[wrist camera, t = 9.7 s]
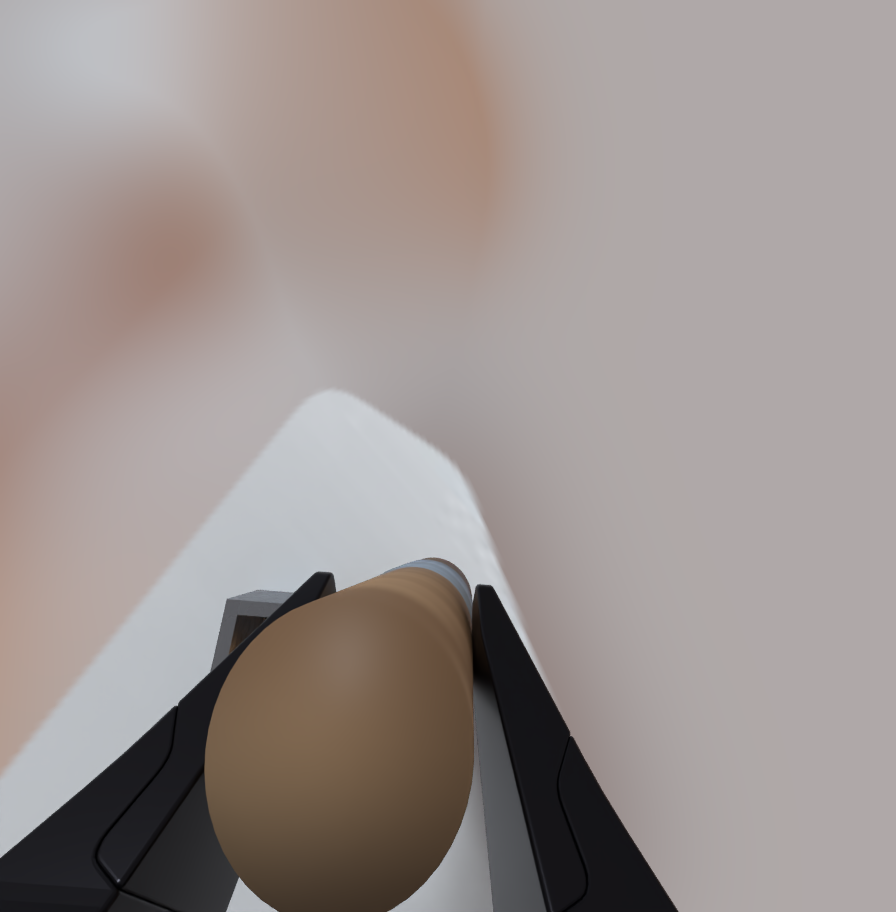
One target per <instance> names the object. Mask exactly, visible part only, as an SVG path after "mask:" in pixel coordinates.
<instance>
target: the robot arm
mask: <svg viewBox="0 0 896 912" xmlns="http://www.w3.org/2000/svg"><path fill="white" fill-rule="evenodd" d="M333 593H336V587H335V580H334V575H333V574H332V573H331V572H316V573H315V574H313V575H312V576H311V577H310V578H309V579H308V580H307V581H306V582H305V583H304V584H303V585H302V586H301V587H300V588H299V589H298V590H297V591H295V592H294V593H293V594H292V595H291V596H290V597H289V598H288V599H287V600H286V601H285V602H284V603H283V604H282V605H281V606H280V607H279V608H278V609H276V610H275V611H274V612H273V613H272V614H271V615H270V616H269V617H268V618H267V619H266V620H265V621H264V622H263V623H262V624H261V625H260V626H259V627H258V628H256V629H255V630H254V631H253V632H252V633H251V634H250V635H249V636H248V637H247V638H246V639H245V640H244V641H243V642H242V643H241V644H240V645H239V646H237V647H236V648H235V649H234V650H233V651H232V652H231V653H230V654H229V655H228V656H227V657H226V658H225V659H224V660H223V661H222V662H221V663H220V664H219V665H217V666H216V667H215V668H214V669H213V670H212V671H211V672H210V673H209V674H208V675H207V676H206V677H205V678H204V679H203V680H202V681H201V682H200V683H198V684H197V685H196V686H195V687H194V688H193V689H192V690H191V691H190V692H189V693H188V694H187V695H186V696H185V697H184V698H183V699H182V700H181V701H180V702H179V703H178V706H174V707H173V708H172V709H171V710H170V711H169V712H168V713H167V714H166V715H165V716H164V717H162V718H161V719H160V720H159V721H158V722H157V723H156V724H155V725H154V726H153V727H152V728H151V729H150V730H149V731H147V732H146V733H145V734H144V735H143V736H142V737H141V738H140V739H139V740H138V741H137V742H135V743H134V744H133V745H132V746H131V747H130V748H129V749H128V750H127V751H126V752H125V753H124V754H122V755H121V756H120V757H119V758H118V759H117V760H116V761H114V762H113V763H112V764H111V765H110V766H109V767H107V768H106V769H105V770H104V771H103V772H102V773H100V774H99V775H98V776H97V777H96V778H95V779H94V780H92V781H91V782H90V783H89V784H88V785H87V786H85V787H84V788H83V789H82V790H81V791H80V792H78V793H77V794H76V795H75V796H74V797H72V798H71V799H70V800H69V801H68V802H66V803H65V804H64V805H63V806H62V807H61V808H59V809H58V810H57V811H56V812H55V813H53V814H52V815H51V816H50V817H49V818H47V819H46V820H45V821H44V822H43V823H41V824H40V825H39V826H38V827H37V828H36V829H34V830H33V831H32V832H31V833H30V834H28V835H27V836H26V837H25V838H24V839H22V840H21V841H20V842H19V843H18V844H16V845H15V846H14V847H13V848H12V849H11V850H9V851H8V852H7V853H6V854H5V855H3V856H2V857H1V858H0V912H226V910H227V908H228V905H229V902H230V900H231V897H232V894H233V892H234V889H235V886H236V884H237V881H238V878H239V876H238V875H237V873H236V872H235V871H234V869H233V868H232V866H231V864H230V863H229V861H228V859H227V857H226V856H225V854H224V852H223V850H222V848H221V845H220V843H219V841H218V838H217V836H216V834H215V831H214V827H213V824H212V820H211V817H210V813H209V808H208V802H207V796H206V789H205V771H204V769H205V749H206V742H207V736H208V729H209V725H210V721H211V717H212V714H213V710H214V707H215V704H216V701H217V699H218V696H219V693H220V691H221V688H222V686H223V684H224V682H225V680H226V678H227V676H228V674H229V672H230V671H231V669H232V668H233V666H234V665H235V663H236V661H237V660H238V658H239V657H240V655H241V654H242V653H243V652H244V650H245V649H246V648H247V647H248V645H249V644H250V643H251V642H252V641H253V640H254V639H255V638H256V637H257V636H258V635H259V634H260V633H261V632H262V631H263V630H264V629H265V628H266V627H268V626H269V625H270V624H272V623H273V622H274V621H275V620H277V619H278V618H280V617H281V616H283V615H285V614H286V613H288V612H290V611H292V610H293V609H296V608H298V607H300V606H303V605H305V604H307V603H310V602H312V601H315V600H318V599H320V598H323V597H325V596H328V595H331V594H333ZM472 649H473V699H474V709H475V720H476V731H477V741H478V752H479V762H480V773H481V784H482V794H483V805H484V816H485V826H486V837H487V847H488V858H489V869H490V879H491V890H492V901H493V911H494V912H678V910H677V909H676V907H675V905H674V904H673V902H672V901H671V899H670V898H669V896H668V895H667V893H666V891H665V890H664V888H663V887H662V885H661V884H660V882H659V880H658V879H657V877H656V876H655V874H654V872H653V871H652V869H651V868H650V866H649V865H648V863H647V862H646V860H645V858H644V857H643V855H642V854H641V852H640V851H639V849H638V847H637V846H636V844H635V843H634V841H633V840H632V838H631V836H630V835H629V833H628V832H627V830H626V829H625V827H624V825H623V823H622V822H621V820H620V819H619V817H618V815H617V814H616V812H615V810H614V809H613V807H612V806H611V804H610V802H609V801H608V799H607V797H606V796H605V794H604V792H603V791H602V789H601V787H600V785H599V784H598V782H597V780H596V778H595V776H594V775H593V773H592V771H591V769H590V767H589V766H588V764H587V762H586V761H585V759H584V757H583V755H582V753H581V751H580V749H579V747H578V745H577V744H576V742H575V740H574V738H573V737H572V736H570V731H569V729H568V727H567V725H566V723H565V721H564V720H563V718H562V716H561V714H560V712H559V710H558V708H557V706H556V704H555V703H554V701H553V699H552V697H551V695H550V693H549V691H548V689H547V687H546V686H545V684H544V682H543V680H542V678H541V676H540V674H539V672H538V671H537V669H536V667H535V665H534V663H533V661H532V659H531V657H530V656H529V654H528V652H527V650H526V648H525V646H524V644H523V642H522V641H521V639H520V637H519V635H518V633H517V631H516V629H515V627H514V625H513V624H512V622H511V620H510V618H509V616H508V614H507V612H506V610H505V609H504V607H503V605H502V603H501V601H500V599H499V597H498V595H497V594H496V592H495V590H494V588H493V587H492V586H491V585H481V584H478V585H477V586H476V588H475V594H474V600H473V606H472Z"/></svg>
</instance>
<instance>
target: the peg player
mask: <svg viewBox="0 0 896 912" xmlns="http://www.w3.org/2000/svg"><path fill="white" fill-rule="evenodd" d="M472 606H473V602H472V594H471V589H470V585H469V583H468V580H467V579H466V577H465V575H464V574H463V573H462V571H461V570H460V569H459V568H458V567H457V566H455V565H454V564H452V563H451V562H449V561H447V560H444V559H440V558H425V559H421V560H417V561H413V562H410V563H407V564H404V565H402V566H399V567H396V568H393V569H391V570H389V571H386V572H385V573H383V574H381V575H380V576H377V577H375V578H372V579H369V580H367V581H364V582H362V583H359V584H356V585H354V586H351V587H349V588H346V589H344V590H341V591H338V592H336V593H333V594H331V595H328V596H325V597H323V598H320V599H318V600H315V601H312V602H310V603H307V604H305V605H303V606H300V607H298V608H296V609H293V610H292V611H290V612H288V613H286V614H285V615H283V616H281V617H280V618H278V619H277V620H275V621H274V622H273V623H272V624H270V625H269V626H268V627H266V628H265V629H264V630H263V631H262V632H261V633H260V634H259V635H258V636H257V637H256V638H255V639H254V640H253V641H252V642H251V643H250V644H249V645H248V647H247V648H246V649H245V650H244V652H243V653H242V654H241V655H240V657H239V658H238V660H237V661H236V663H235V665H234V666H233V668H232V669H231V671H230V672H229V674H228V676H227V678H226V680H225V682H224V684H223V686H222V688H221V691H220V693H219V696H218V699H217V701H216V704H215V707H214V710H213V714H212V717H211V721H210V725H209V729H208V736H207V742H206V749H205V769H204V771H205V789H206V796H207V802H208V808H209V813H210V817H211V820H212V824H213V827H214V831H215V834H216V836H217V838H218V841H219V843H220V845H221V848H222V850H223V852H224V854H225V856H226V857H227V859H228V861H229V863H230V864H231V866H232V868H233V869H234V871H235V872H236V873H237V875H238V876H239V877H240V878H241V880H242V881H243V882H244V883H245V885H246V886H247V887H248V888H249V889H250V890H251V891H252V892H253V893H254V894H256V895H257V896H258V897H259V898H260V899H261V900H262V901H264V902H265V903H267V904H268V905H269V906H271V907H272V908H274V909H275V910H277V911H279V912H387V911H389V910H391V909H393V908H394V907H396V906H397V905H399V904H400V903H402V902H403V901H405V900H406V899H408V898H409V897H410V896H411V895H412V894H413V893H415V892H416V891H417V890H418V889H419V888H420V887H421V886H422V885H423V884H424V883H425V882H426V881H427V880H428V879H429V877H430V876H431V875H432V874H433V872H434V871H435V870H436V869H437V868H438V866H439V865H440V863H441V862H442V860H443V858H444V857H445V855H446V854H447V852H448V850H449V849H450V847H451V845H452V843H453V841H454V839H455V837H456V834H457V832H458V830H459V828H460V826H461V823H462V820H463V816H464V813H465V810H466V807H467V804H468V799H469V794H470V789H471V785H472V776H473V765H474V725H473V649H472Z"/></svg>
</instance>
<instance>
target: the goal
mask: <svg viewBox="0 0 896 912" xmlns="http://www.w3.org/2000/svg"><path fill="white" fill-rule="evenodd" d="M292 594H293V593H289V592H277V591H264V590H256V591H253V592H249V593H246V594H242V595H239V596H236V597H232V598H229V599H227V601H226V605H225V610H224V614H223V619H222V623H221V627H220V632H219V636H218V641H217V645H216V650H215V654H214V659H213V663H212V667H211V671H212V670H213V669H214V668H215V667H216V666H217V665H219V664H220V663H221V662H222V661H223V660H224V659H225V658H226V657H227V656H228V655H229V654H230V653H231V652H232V651H233V650H234V649H235V648H236V647H237V646H239V645H240V644H241V643H242V642H243V641H244V640H245V639H246V638H247V637H248V636H249V635H250V634H251V633H252V632H253V631H254V630H255V629H256V628H258V627H259V626H260V625H261V624H262V623H263V621H264V617H269V616H270V615H271V614H272V613H273V612H274V611H275V610H276V609H278V608H279V607H280V606H281V605H282V604H283V603H284V602H285V601H286V600H287V599H288V598H289V597H290V596H291V595H292Z"/></svg>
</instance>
